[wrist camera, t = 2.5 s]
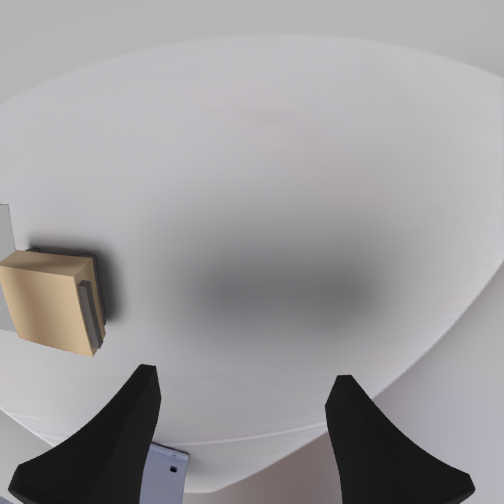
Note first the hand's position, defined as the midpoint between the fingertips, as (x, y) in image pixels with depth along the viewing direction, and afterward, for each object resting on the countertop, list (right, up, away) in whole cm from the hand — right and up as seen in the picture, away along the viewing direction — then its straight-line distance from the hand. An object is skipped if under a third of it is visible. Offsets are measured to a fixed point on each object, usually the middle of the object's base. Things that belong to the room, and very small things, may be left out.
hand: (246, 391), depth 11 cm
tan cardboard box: (-12, +3, +6) cm, 13 cm away
